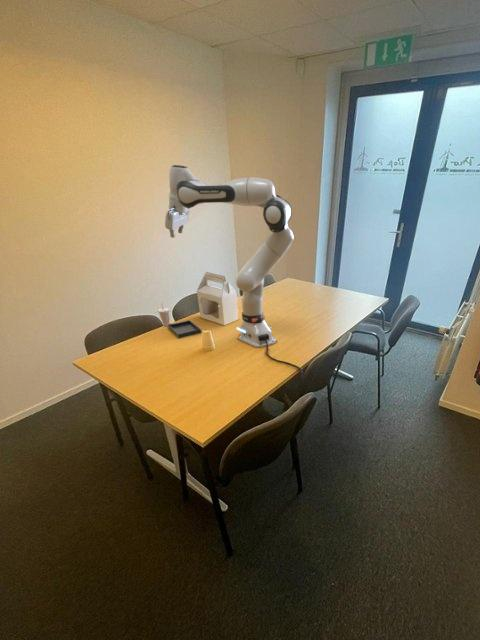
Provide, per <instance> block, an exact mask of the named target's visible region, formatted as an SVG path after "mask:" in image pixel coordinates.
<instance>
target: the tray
mask: <svg viewBox="0 0 480 640" xmlns="http://www.w3.org/2000/svg"><path fill="white" fill-rule="evenodd" d="M167 327H168V329H169V330H170V331H171V332H172V333H173V334H174V335H175V336H176V337H177V338H178V339H181V338H185V337H190V336H193V335H198V334H201V333H202V329H201V328H200V327H199V326H198V325H197V324H196V323H194V322H193V321H192V320H191V319H189V320H184V321H178V322H175V323H170V325H168V326H167Z"/></svg>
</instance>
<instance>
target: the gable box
mask: <svg viewBox="0 0 480 640" xmlns="http://www.w3.org/2000/svg"><path fill="white" fill-rule="evenodd" d="M212 282H214V283H218V284H222V288H221V287H218V286H215V285H212ZM196 294H197V295H196V296H197V303H198V308H199V309H198V310H199V316H200V318H201V319H204V320H207V321H210V322H213V323H215V324H219V325H222V326H226V325H228V324H231V323H233V322H236V321H238V320H239V307H238V292H237V291H236V290H235V289H234V287H233V286H232V285H231V283H230V282H229V281H227V280H226V277H225V276H224V275H221V274H217V273H212V272H208V271H205V272H204V274H203V276H202V279H201V281H200V284H199V285H198V287H197V289H196Z"/></svg>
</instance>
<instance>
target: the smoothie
mask: <svg viewBox="0 0 480 640" xmlns="http://www.w3.org/2000/svg"><path fill="white" fill-rule="evenodd" d="M160 305H161V308H158V309H157V312H158V314H159V316H160V319H161V322H162V325H163V326H164V327H168V325H170V324H171V319H170V308H168V307H164V305H163V302H160Z"/></svg>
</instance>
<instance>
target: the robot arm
mask: <svg viewBox="0 0 480 640" xmlns="http://www.w3.org/2000/svg"><path fill="white" fill-rule="evenodd" d="M167 194H168V195H167V207H168V210H167V211H166V212H165V220H164V228H165V229H167V230H169V233H170V236H169V237H170V238H173V239H174V238H176V233H175V230H176V229H177V233H178V234H183V232H184V227H185V224H188V223H189V219H190V209H192V208H193V207H196V206H201V205H202V204H210V203H211V204H212V203H213V204H214V203H222V204H228V205H234V206H235V205H236V206H241V207H259V208H262V209H263V211H262V216H263V217H262V218H263V220H264V222H265V224H266V225H267V227H268V229H269V231H270V233H269V235H268V236H267V237H266V238H265V240H264V241H263V242H262V243H261V245H260V246H259V247H258V249H257V250H255V252H254V253H253V255H252V256H251V257H250V258H249V259H248V261H246V263H245V264H244V266H243V267H242V268H241V269H240V270H239V271H238V273H237V275H236V277H235V285H236V287H237V288H238V289H239V290H240V291H241V292H242V296H241V307H242V308H241V309H242V312H241V319H242V321H241V324H240V327H236V330H237V331H240V336H239V337H238V340H239V341H242V342H244V343H246V344H248V345H250V346H252V347H254V348H264V347H266V352H265V353H266V356H267V357H268V358H269V359H271V360H273V361H275V362H277V363H282V364H287V365H289V366H292V367H295V368H297V369H298V370H299V371H300V379H301V382H304V377H303V370H302V368H301V367H299V366H298V365H296V364H293V363H290V362H288V361H284V360H279V359H276V358H274V357H272V356H270V354H269V346H271V345H273V344H275V343H276V342H277V338H275V337H274V336H273V333H272V327H271V326H269V324H268V323H267V322H266V320H265V319H266V317H265V314H264V311H263V295H264V285H265V278H266V277H267V275H268V274H269V273H270V272H271V271H272V269H274V267H275V266H276V265H277V264H278V263H279V262H280V260H281V259H282V258H283V256H285V254H286V253H287V252H288V250H289V249H290V247H291V245H292V244H293V242H294V239H295V238H294V237H295V236H294V234H293V233H294V232H293V231H292V229H291V228H289V225H288V223H289V222H290V220H291V218H292V215H293V209H292V206H291V203H289V202H288V200H286V199H284V198H283V197H281V196H280V195H278V194H276V189H275V186H274V183H273V182H272V180H270V179H268V178H263V177H258V176H257V177H255V176H246V177H245V176H244V177H239V178H235V179H233V180H232V179H231V180H229V181H228V182H227V181H226V182H225V183H221V184H217V185H216V184H215V185H207V184H206V183H205V182H204V181H202V180H201V179H199V178H198V177H196V175H194V174H193V173H192V172H191V170H190V169H189V167H187V166H185V165H180V164H174V165H172V166H170V168H169V173H168V193H167ZM303 431H304V426H301V431H300V439H301V440H302V439H303Z"/></svg>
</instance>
